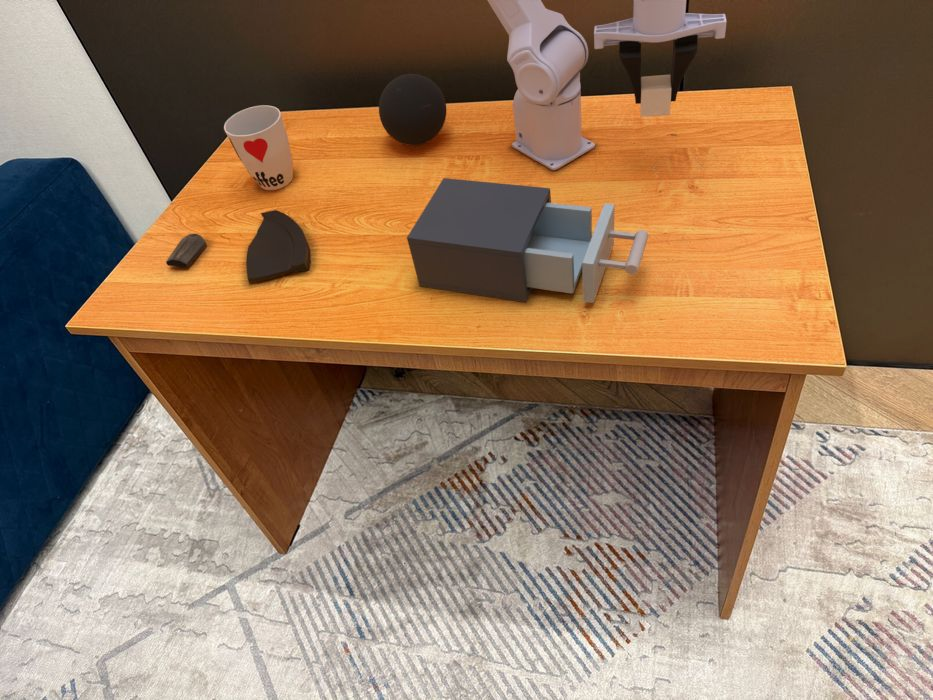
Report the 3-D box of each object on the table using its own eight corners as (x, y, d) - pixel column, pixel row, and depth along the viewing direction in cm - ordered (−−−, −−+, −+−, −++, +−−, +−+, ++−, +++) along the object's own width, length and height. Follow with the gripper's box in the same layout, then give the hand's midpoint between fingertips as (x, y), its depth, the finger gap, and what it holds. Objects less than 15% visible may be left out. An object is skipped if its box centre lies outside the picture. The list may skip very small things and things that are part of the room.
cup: (240, 193, 104) (212, 133, 96) (269, 162, 109) (245, 103, 101) (284, 199, 101) (260, 138, 94) (312, 167, 106) (291, 107, 98)
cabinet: (553, 238, 87) (550, 187, 81) (526, 302, 80) (520, 252, 74) (453, 226, 91) (443, 177, 86) (419, 286, 84) (406, 237, 79)
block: (168, 270, 94) (162, 260, 92) (187, 241, 98) (181, 231, 96) (192, 270, 93) (186, 260, 92) (210, 241, 97) (205, 230, 95)
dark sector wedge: (310, 210, 98) (306, 201, 97) (310, 272, 89) (306, 263, 88) (252, 223, 98) (248, 213, 97) (247, 286, 89) (242, 276, 88)
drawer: (650, 247, 82) (653, 207, 77) (632, 309, 76) (634, 269, 71) (514, 231, 87) (510, 193, 83) (487, 287, 81) (481, 249, 77)
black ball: (402, 120, 111) (388, 60, 104) (460, 124, 108) (450, 62, 101) (376, 156, 105) (360, 94, 98) (437, 161, 102) (424, 97, 95)
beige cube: (640, 117, 86) (641, 90, 84) (640, 102, 89) (641, 76, 86) (669, 115, 86) (671, 88, 83) (668, 100, 88) (670, 74, 85)
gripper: (727, -39, 77) (714, 77, 87) (594, -25, 80) (597, 86, 90) (733, -13, 72) (719, 107, 82) (592, 1, 76) (595, 115, 86)
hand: (655, 98), depth 86 cm, fingers closed on beige cube, 3 cm apart
